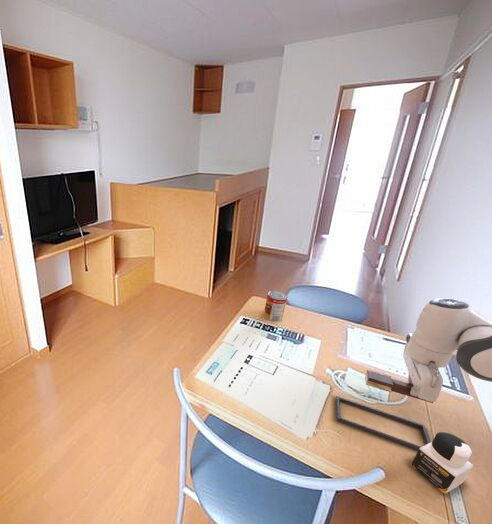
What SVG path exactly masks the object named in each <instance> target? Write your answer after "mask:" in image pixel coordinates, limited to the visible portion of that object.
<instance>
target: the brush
mask: <svg viewBox="0 0 492 524" xmlns="http://www.w3.org/2000/svg"><path fill="white" fill-rule="evenodd" d="M364 381H365V385H366V386H368V387H371V388H375V389H378V390H382V391H385V392H388V393H391V392H393V393H397V394H400V395H404V396H407V397H410V398H413V399H417V400H420V401H424V402H427V403H431V404H434V402H430V401H426V400H423V399H420V398H418V396H417V397H416V396H413V395H411V394H410V391H409V390H410V388H411V387H413V385H412V384H409V383H407V382H405V381H402V380H398V379H396V378H395V379H394V378H392V376H391V375H387V374H383V373H380V372H377V371H372V370H369V369H367V370H366V372H365V376H364Z"/></svg>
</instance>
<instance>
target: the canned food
mask: <svg viewBox="0 0 492 524" xmlns="http://www.w3.org/2000/svg"><path fill="white" fill-rule="evenodd" d="M287 301H288V296H287V294H286V293H284V292H282V291H278V290H271V291H268V292H267V296H266V301H265V305H264V311H263V317H264V319H266V320H268V321H270V322H275V323H276V322H277V323H278V322H282V320H283V317H284V313H285V309H286V305H287Z"/></svg>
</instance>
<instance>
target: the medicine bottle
mask: <svg viewBox="0 0 492 524" xmlns="http://www.w3.org/2000/svg"><path fill="white" fill-rule="evenodd" d="M472 455H473V452H472V449H471V447H470V446H469V444H468V443H467V442H465V441H464V440H463V439H461V438H460V437H458V436H457V435H454V434H452V433H449V432H445V431H443V432H442V431H439V432H437V433H436V434H435V435H434V438H433V439H432V441H430V443H428V444H427V445H426V444H425V445H422V446H421V448H420V449H419V450H418V451H417V452H416V454H415V456H414V458H413V460H412V462H411V464H410V467H411V468H412V469H414V470H415V471H416V472H417V473H419V474H420V475H421V476H422V477H423V478H425V479H426V480H427V481H428V482H429V483H431V484H432V485H433V486H434V487H435V488H437V489H438V490H439V491H440V492H441V493H443V494H444V495H447V494H448V493H449V492H451V491H452V490H454V489H456V488H457V487H459V486H460V485H462V484H463V483H464V481H465V480H466V479H467V477H468V475H469V474H470V472H471V471H472V469H473V468H474V464H473V463H471V462H470V461H469V460H470V458H471V456H472Z"/></svg>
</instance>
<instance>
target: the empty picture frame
mask: <svg viewBox="0 0 492 524" xmlns="http://www.w3.org/2000/svg"><path fill="white" fill-rule="evenodd" d="M340 403H343V404H346V405H349V406H351V407H355V408H358V409H361V410H362V411H363V410H364V411H367V412H369V413H372V414H375V415H378V416H381V417H384V418H386V419H389V420H393V421H395V422H398V423H402V424H404V425H407V426H410V427H413V428H416V429H419V430H420V431H421V434H422V437H423V440H424V444H425V445H427V444H428V443H430V442H431V439H430V437H429V434H428V432H427V429H426V426H425V424H422V423H418V422H416V421H412V420H409V419H406V418H404V417H401V416H398V415H395V414H391V413H389V412H386V411H383V410H380V409H377V408H374V407H371V406H368V405H365V404H361V403H359V402H356V401H352V400H350V399H347V398H344V397H341V396H338V395H336V397H335V409H336V410H335V411H336V413H335V414H336V422H338V423H340V424H344V425H346V426H349V427H352V428H355V429H356V430H357V429H358V430H360V431H363V432H366V433H368V434H371V435H374V436H376V437H379V438H381V439H384V440H388V441H390V442H393V443H396V444H398V445H401V446H404V447H406V448H410V449H412V450H415V451H417V452H418V450H419V449H420V448H421V447H422V446H420V445H418V444H415V443H412V442H410V441H407V440H404V439H401V438H398V437H396V436H393V435H391V434H388V433H386V432H382V431H379V430H377V429H374V428H371V427H368V426H366V425H362V424H360V423H358V422H354V421H351V420H349V419H346V418H343V417H341V408H340V406H341V405H340Z"/></svg>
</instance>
